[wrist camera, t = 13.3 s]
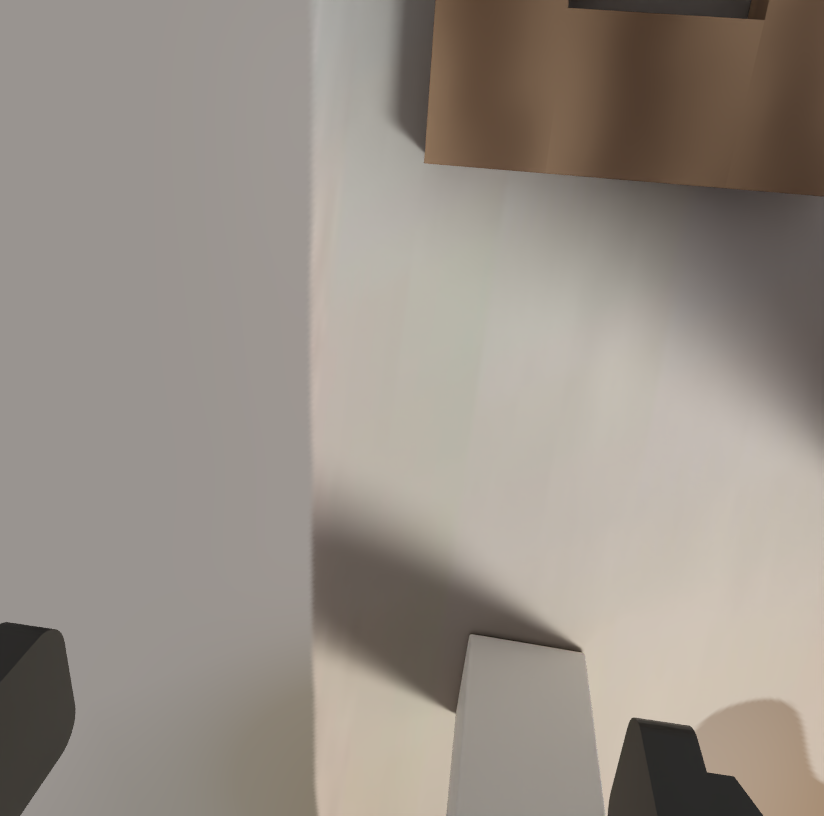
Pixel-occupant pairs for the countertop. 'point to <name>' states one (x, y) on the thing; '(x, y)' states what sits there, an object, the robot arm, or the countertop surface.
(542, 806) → the milk carton
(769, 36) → the holder block
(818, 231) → the countertop surface
